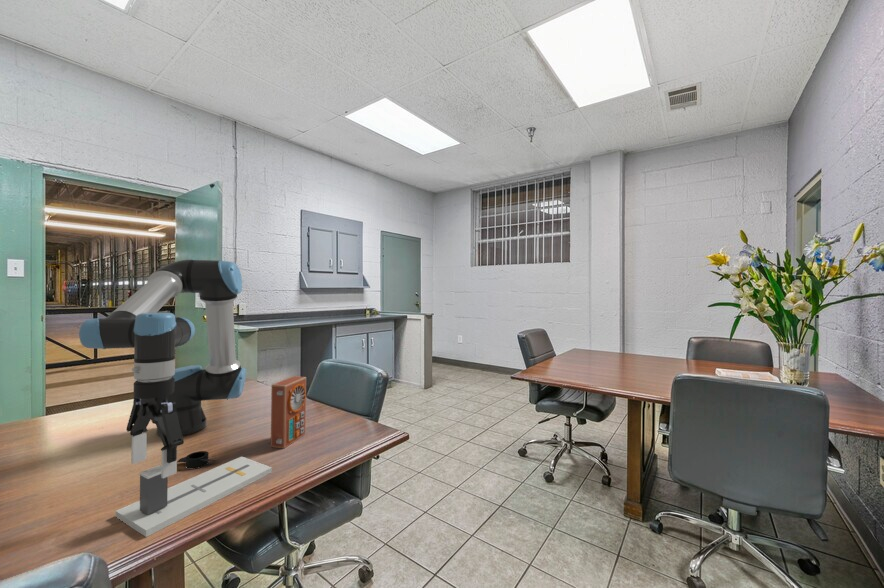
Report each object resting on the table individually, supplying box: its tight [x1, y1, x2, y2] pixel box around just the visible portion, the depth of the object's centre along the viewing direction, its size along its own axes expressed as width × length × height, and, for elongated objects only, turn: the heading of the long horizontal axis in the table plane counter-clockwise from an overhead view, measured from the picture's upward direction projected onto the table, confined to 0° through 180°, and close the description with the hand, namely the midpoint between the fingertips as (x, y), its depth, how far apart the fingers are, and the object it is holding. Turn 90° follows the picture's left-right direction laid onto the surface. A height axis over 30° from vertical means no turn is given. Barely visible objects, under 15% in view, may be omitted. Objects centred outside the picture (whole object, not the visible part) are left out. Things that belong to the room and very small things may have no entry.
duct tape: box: [177, 450, 217, 469], centre depth 109 cm, size 8×10×3 cm
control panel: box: [270, 375, 307, 449], centre depth 127 cm, size 21×7×15 cm
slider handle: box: [139, 464, 169, 515], centre depth 84 cm, size 4×4×9 cm
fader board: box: [115, 456, 273, 538], centre depth 94 cm, size 14×31×2 cm, turn 153°
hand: (153, 468), depth 84 cm, fingers open, 13 cm apart
